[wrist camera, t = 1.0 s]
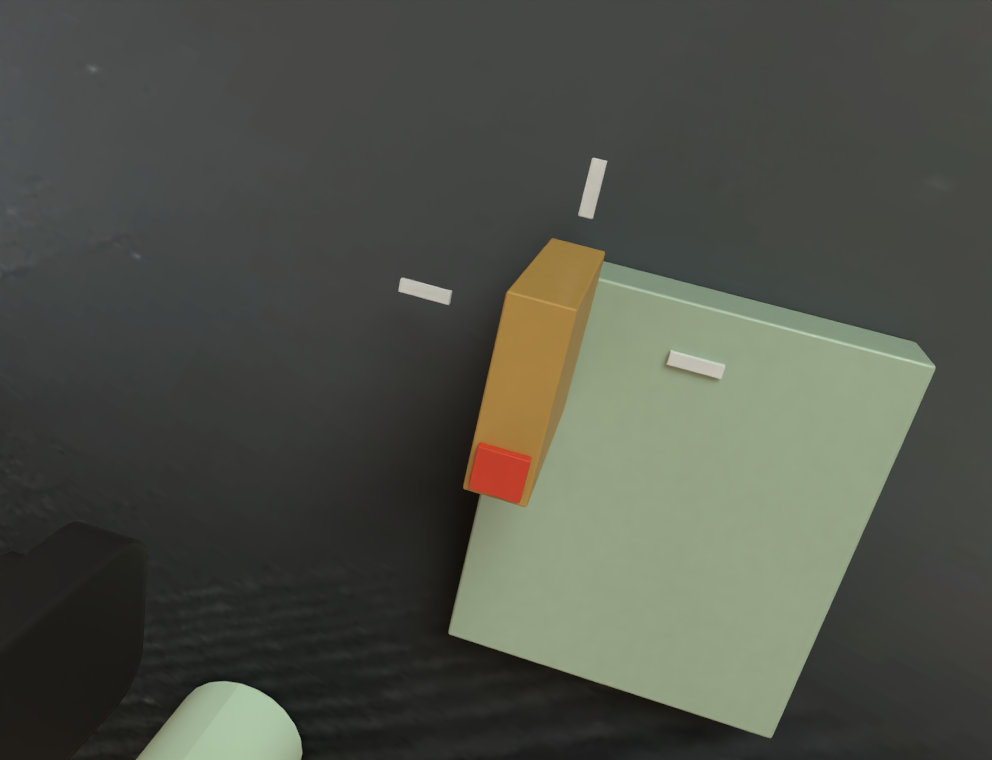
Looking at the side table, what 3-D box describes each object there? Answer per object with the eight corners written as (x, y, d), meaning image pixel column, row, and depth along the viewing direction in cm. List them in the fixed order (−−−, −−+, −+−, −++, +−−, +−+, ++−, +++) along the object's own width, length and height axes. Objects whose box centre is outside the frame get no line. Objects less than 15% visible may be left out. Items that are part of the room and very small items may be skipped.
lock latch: (551, 237, 21) (503, 294, 16) (606, 251, 21) (575, 313, 16) (513, 396, 23) (459, 495, 17) (563, 410, 22) (524, 514, 17)
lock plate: (451, 113, 23) (427, 118, 21) (962, 237, 21) (990, 255, 19) (368, 567, 28) (344, 605, 26) (766, 693, 26) (772, 744, 24)
